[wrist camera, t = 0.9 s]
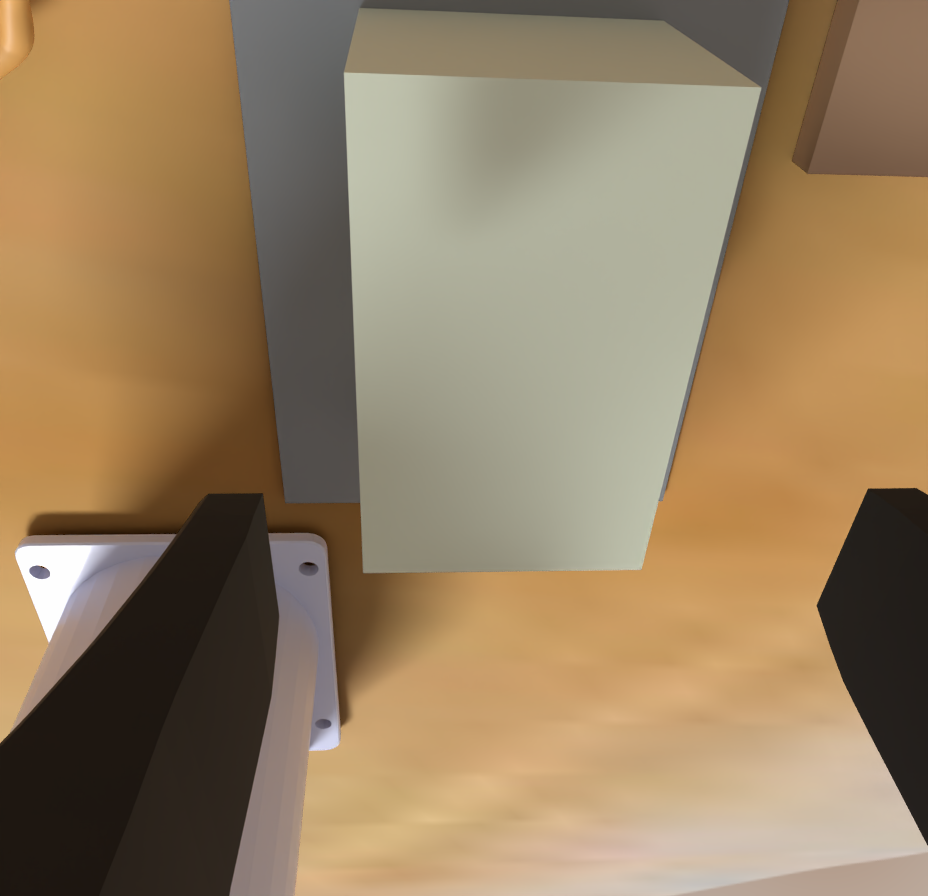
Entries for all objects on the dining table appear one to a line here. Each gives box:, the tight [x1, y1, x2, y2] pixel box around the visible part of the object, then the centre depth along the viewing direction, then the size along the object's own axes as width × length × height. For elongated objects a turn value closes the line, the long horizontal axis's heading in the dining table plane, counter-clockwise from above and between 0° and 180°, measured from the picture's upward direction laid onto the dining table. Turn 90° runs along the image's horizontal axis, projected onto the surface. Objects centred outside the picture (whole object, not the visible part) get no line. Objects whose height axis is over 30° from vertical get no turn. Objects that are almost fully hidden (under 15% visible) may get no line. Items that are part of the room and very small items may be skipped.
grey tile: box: [229, 0, 789, 503], centre depth 17 cm, size 14×10×1 cm
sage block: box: [344, 8, 762, 573], centre depth 15 cm, size 9×6×5 cm, turn 177°
